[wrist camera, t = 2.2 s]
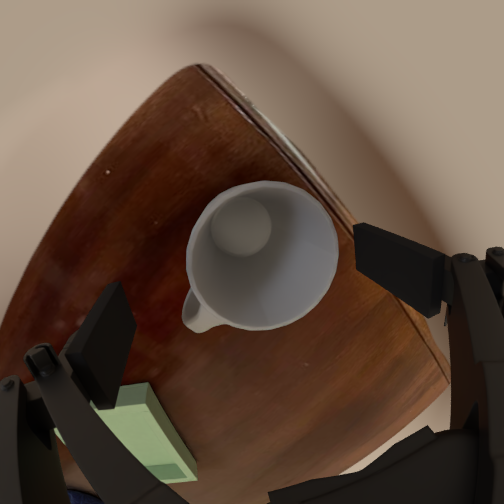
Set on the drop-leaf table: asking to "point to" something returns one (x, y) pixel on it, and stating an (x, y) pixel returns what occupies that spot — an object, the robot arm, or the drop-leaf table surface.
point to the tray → (148, 434)
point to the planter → (82, 498)
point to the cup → (259, 258)
